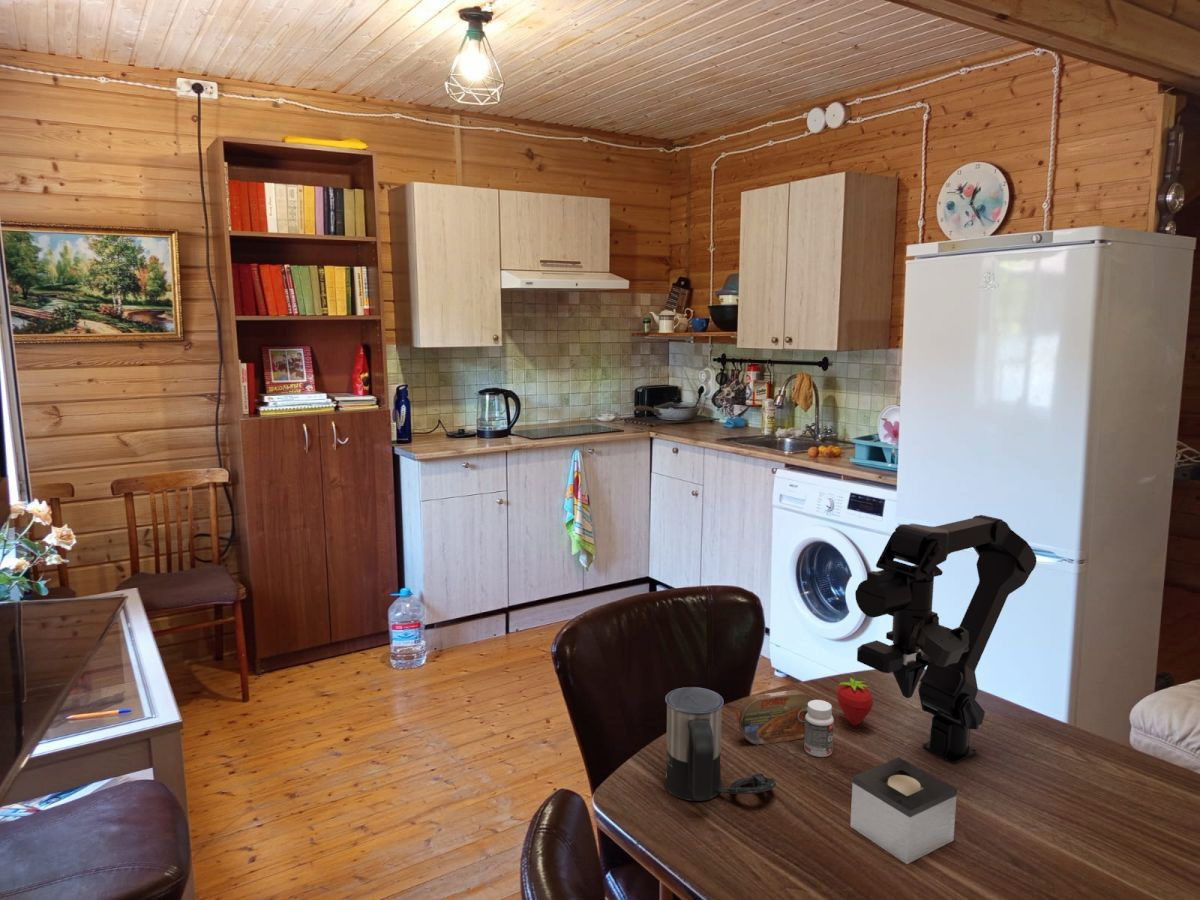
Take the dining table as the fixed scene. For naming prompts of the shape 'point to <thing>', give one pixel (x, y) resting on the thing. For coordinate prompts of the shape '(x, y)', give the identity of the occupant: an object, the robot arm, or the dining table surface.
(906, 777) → the peg
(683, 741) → the milk frother
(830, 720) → the pill bottle
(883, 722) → the dining table surface
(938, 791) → the collar
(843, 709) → the strawberry
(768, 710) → the tin
